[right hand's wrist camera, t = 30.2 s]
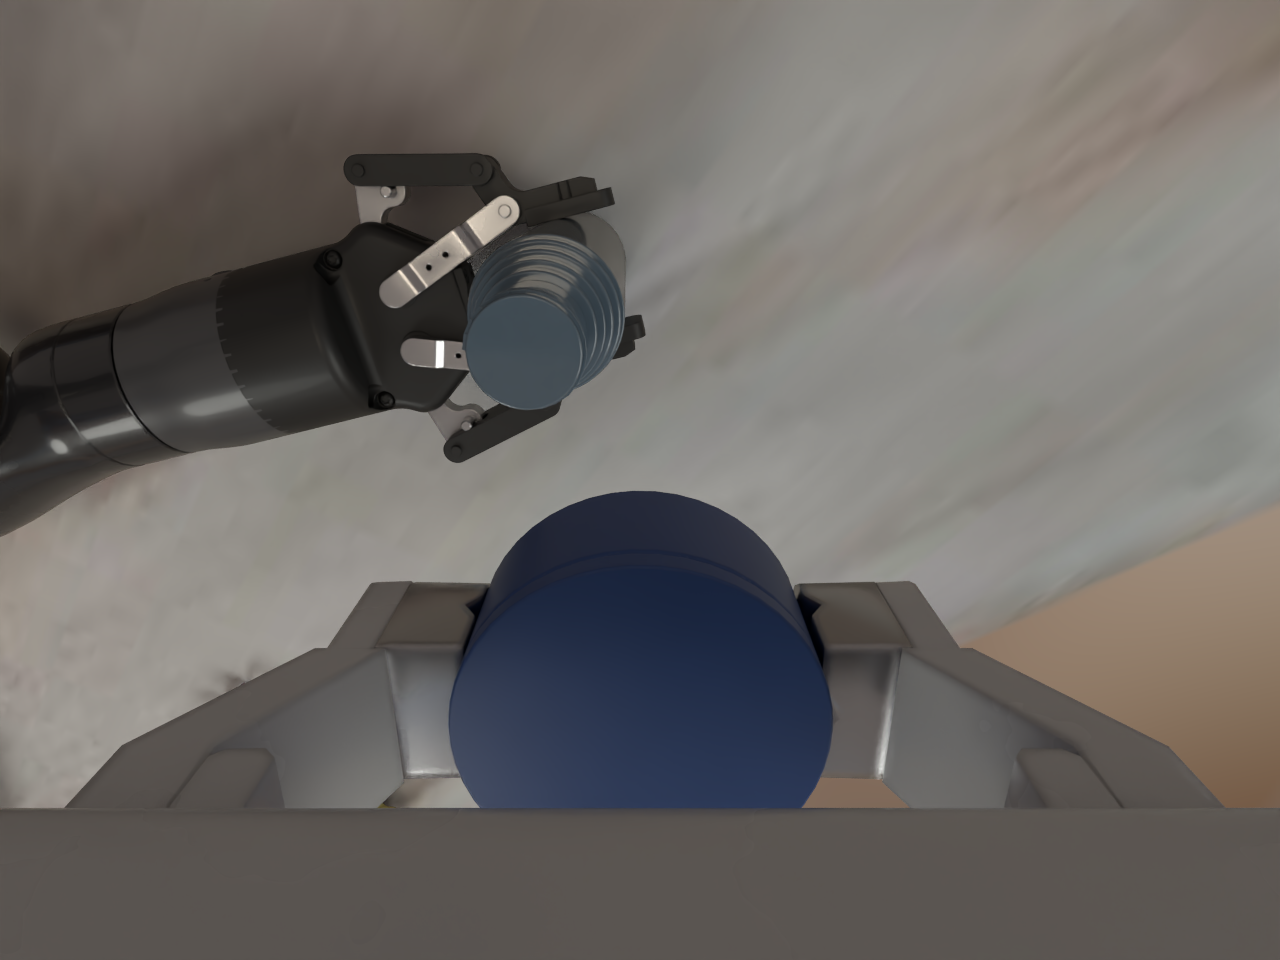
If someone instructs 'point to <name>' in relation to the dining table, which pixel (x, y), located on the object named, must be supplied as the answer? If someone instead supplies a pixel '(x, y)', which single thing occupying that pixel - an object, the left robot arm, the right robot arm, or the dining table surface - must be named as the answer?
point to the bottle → (546, 312)
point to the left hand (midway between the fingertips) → (626, 262)
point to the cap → (640, 667)
